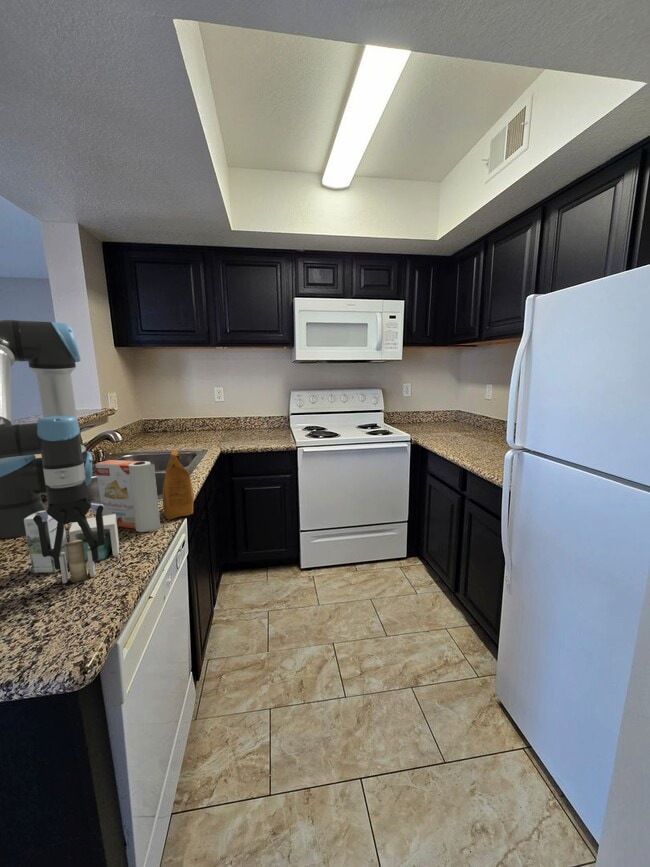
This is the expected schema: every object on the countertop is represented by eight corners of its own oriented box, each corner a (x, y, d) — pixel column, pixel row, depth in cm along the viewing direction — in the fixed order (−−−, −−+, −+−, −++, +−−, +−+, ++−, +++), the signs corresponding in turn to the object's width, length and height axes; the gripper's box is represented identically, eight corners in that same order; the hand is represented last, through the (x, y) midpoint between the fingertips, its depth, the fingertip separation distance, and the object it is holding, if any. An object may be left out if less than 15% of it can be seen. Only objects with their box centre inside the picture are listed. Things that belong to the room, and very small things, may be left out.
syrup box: (71, 561, 94) (63, 508, 92) (55, 573, 88) (46, 517, 86) (49, 562, 94) (40, 509, 91) (31, 574, 88) (22, 518, 86)
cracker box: (102, 526, 116) (93, 463, 112) (117, 519, 121) (110, 459, 118) (138, 530, 112) (130, 465, 109) (152, 522, 118) (145, 460, 114)
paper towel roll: (133, 528, 114) (126, 463, 110) (153, 523, 118) (147, 459, 114) (139, 535, 108) (132, 467, 105) (160, 529, 112) (154, 463, 109)
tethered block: (90, 552, 98) (86, 521, 97) (110, 550, 100) (106, 519, 98) (64, 583, 84) (59, 547, 82) (88, 580, 85) (83, 544, 84)
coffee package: (193, 505, 134) (188, 447, 130) (195, 516, 122) (190, 453, 119) (164, 509, 130) (158, 450, 126) (164, 522, 118) (157, 457, 115)
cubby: (77, 551, 99) (73, 520, 98) (119, 543, 104) (115, 513, 102) (73, 564, 92) (68, 531, 91) (118, 555, 97) (114, 523, 95)
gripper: (11, 494, 75) (28, 596, 79) (110, 481, 83) (121, 574, 87) (21, 485, 81) (36, 579, 85) (112, 474, 90) (122, 560, 93)
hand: (79, 576), depth 86 cm, fingers open, 5 cm apart
